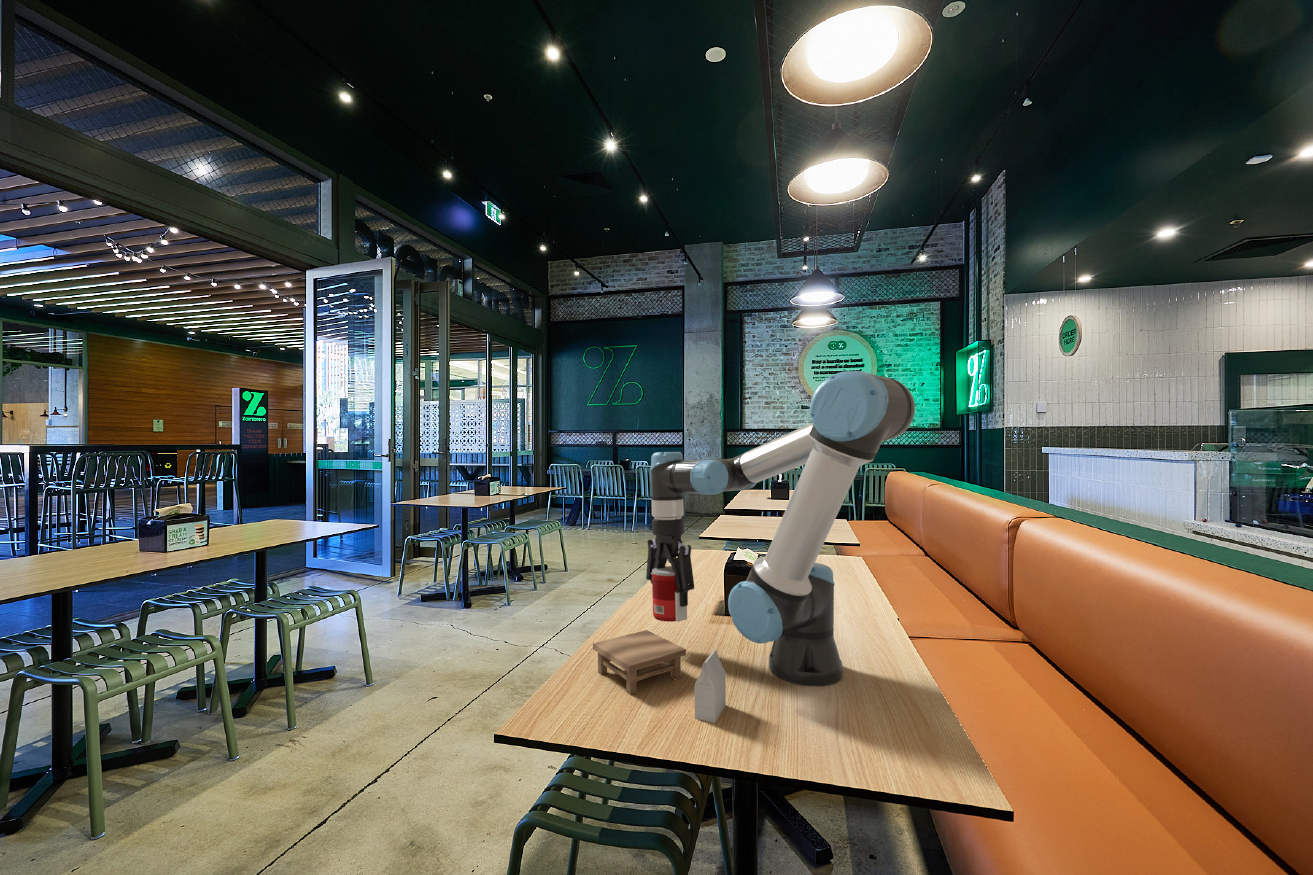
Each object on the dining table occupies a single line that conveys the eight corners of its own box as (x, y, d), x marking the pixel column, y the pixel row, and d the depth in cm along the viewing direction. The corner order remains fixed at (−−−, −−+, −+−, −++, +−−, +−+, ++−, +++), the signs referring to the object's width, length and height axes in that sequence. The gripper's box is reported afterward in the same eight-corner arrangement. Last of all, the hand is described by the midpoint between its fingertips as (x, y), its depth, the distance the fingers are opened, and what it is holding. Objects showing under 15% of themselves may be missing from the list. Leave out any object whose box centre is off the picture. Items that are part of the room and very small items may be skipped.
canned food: (687, 621, 119) (686, 572, 120) (652, 622, 119) (651, 573, 120) (686, 611, 127) (685, 565, 127) (653, 612, 127) (652, 566, 127)
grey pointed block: (725, 705, 98) (725, 651, 98) (714, 723, 92) (714, 664, 92) (706, 701, 99) (706, 647, 99) (694, 718, 93) (694, 661, 93)
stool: (686, 678, 109) (686, 649, 109) (629, 697, 100) (629, 665, 101) (646, 656, 120) (646, 629, 120) (592, 671, 112) (592, 643, 112)
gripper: (709, 519, 118) (711, 623, 117) (654, 513, 135) (656, 603, 134) (683, 522, 113) (685, 630, 113) (630, 515, 130) (631, 608, 129)
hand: (669, 615), depth 123 cm, fingers closed on canned food, 8 cm apart
